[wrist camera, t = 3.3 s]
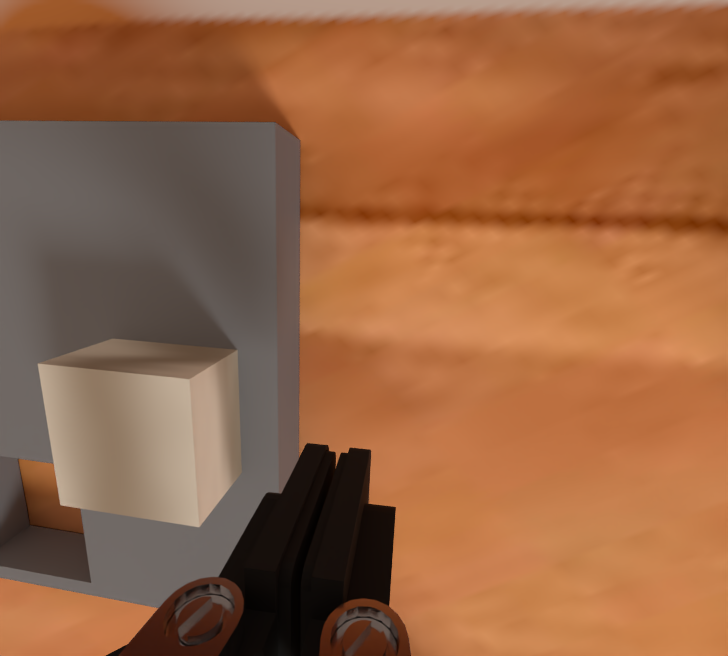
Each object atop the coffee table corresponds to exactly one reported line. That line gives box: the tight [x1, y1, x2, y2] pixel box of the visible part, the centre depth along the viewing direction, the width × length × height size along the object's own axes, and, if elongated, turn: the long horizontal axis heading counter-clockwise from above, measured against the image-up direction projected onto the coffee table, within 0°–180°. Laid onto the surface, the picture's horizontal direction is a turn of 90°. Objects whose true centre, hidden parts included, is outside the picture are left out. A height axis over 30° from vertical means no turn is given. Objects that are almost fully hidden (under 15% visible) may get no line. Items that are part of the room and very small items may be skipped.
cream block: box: [38, 339, 242, 527], centre depth 14 cm, size 5×5×3 cm
